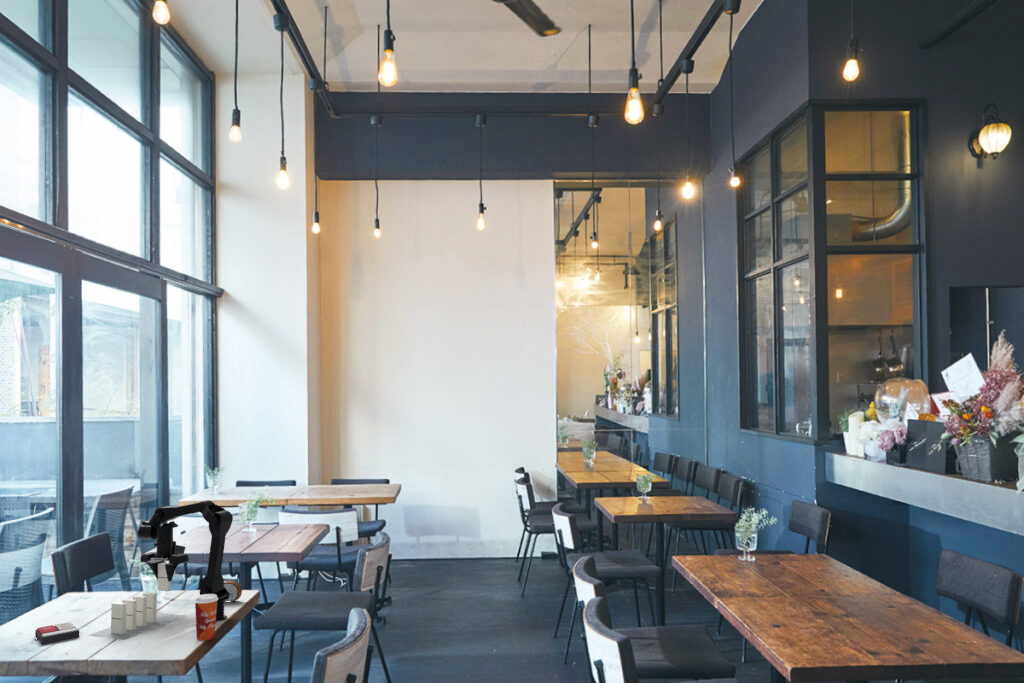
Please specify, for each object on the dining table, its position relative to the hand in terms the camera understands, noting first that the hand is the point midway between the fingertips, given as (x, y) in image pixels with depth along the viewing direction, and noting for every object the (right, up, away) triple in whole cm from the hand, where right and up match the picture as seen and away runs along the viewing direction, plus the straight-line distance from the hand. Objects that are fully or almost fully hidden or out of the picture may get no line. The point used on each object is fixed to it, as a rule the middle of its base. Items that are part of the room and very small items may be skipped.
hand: (164, 580), depth 277 cm
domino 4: (0, -11, -12) cm, 16 cm away
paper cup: (+28, -10, -29) cm, 42 cm away
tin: (+16, -14, +16) cm, 27 cm away
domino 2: (-3, -10, -21) cm, 23 cm away
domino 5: (0, -4, 0) cm, 4 cm away
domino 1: (-4, -10, -25) cm, 27 cm away
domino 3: (-1, -11, -16) cm, 20 cm away
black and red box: (-24, -12, -27) cm, 38 cm away
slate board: (-1, -12, -16) cm, 20 cm away
